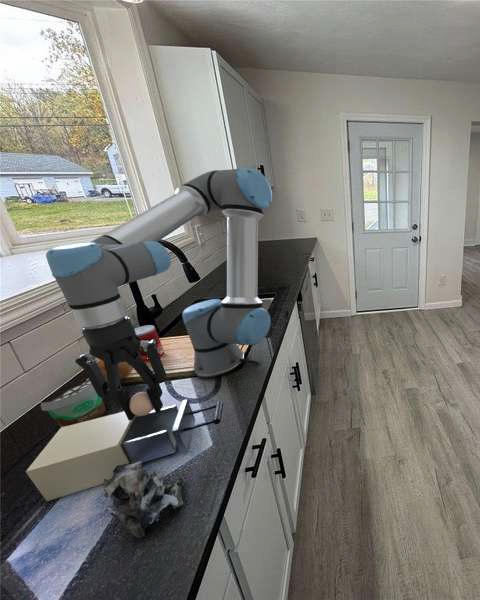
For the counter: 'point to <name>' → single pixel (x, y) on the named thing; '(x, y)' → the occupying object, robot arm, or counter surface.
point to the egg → (141, 404)
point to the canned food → (148, 339)
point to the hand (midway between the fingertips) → (146, 412)
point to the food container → (75, 405)
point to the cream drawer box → (80, 456)
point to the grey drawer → (163, 432)
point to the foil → (140, 496)
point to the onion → (123, 369)
